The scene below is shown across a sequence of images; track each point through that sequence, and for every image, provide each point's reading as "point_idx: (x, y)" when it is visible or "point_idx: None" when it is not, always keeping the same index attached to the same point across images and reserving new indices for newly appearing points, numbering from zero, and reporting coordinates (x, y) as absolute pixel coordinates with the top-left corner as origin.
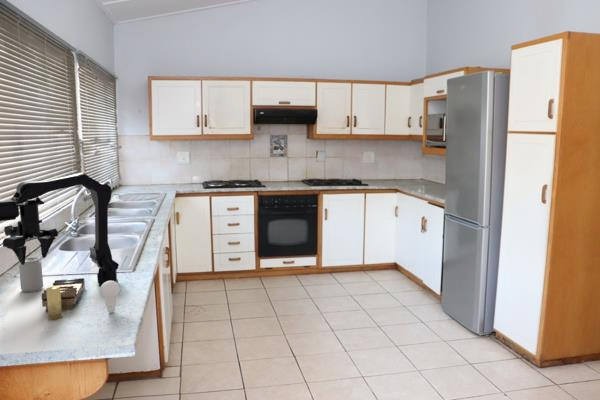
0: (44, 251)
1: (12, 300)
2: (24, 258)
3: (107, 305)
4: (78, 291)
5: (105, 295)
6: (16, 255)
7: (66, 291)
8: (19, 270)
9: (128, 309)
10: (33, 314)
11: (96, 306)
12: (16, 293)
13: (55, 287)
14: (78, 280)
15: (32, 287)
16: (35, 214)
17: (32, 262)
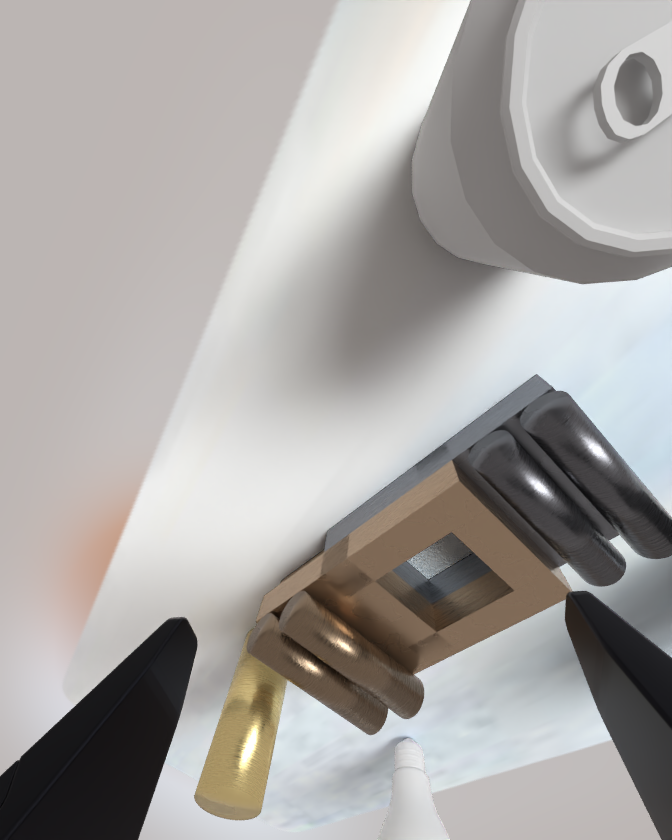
0: (633, 753)
1: (270, 284)
2: (143, 775)
3: (392, 781)
4: (456, 647)
5: None
6: (4, 775)
7: (344, 715)
8: (451, 51)
9: (459, 759)
10: (236, 557)
11: (432, 678)
12: (372, 141)
13: (241, 804)
14: (629, 538)
15: (452, 252)
16: None
17: (592, 239)
